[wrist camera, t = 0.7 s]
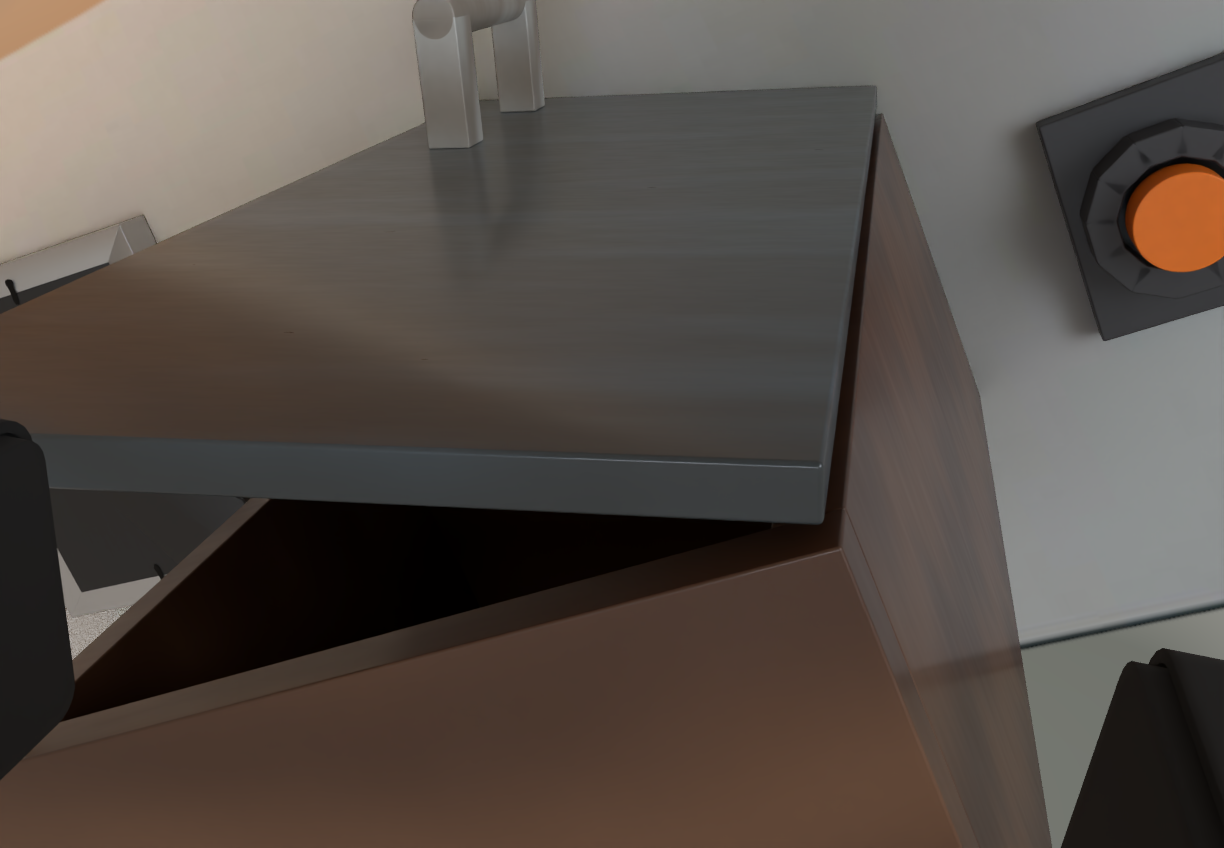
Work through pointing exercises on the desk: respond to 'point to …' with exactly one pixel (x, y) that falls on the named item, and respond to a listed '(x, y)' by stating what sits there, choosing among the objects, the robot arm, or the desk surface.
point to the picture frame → (110, 520)
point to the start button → (1178, 217)
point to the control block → (1110, 172)
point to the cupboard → (589, 653)
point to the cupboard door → (485, 309)
